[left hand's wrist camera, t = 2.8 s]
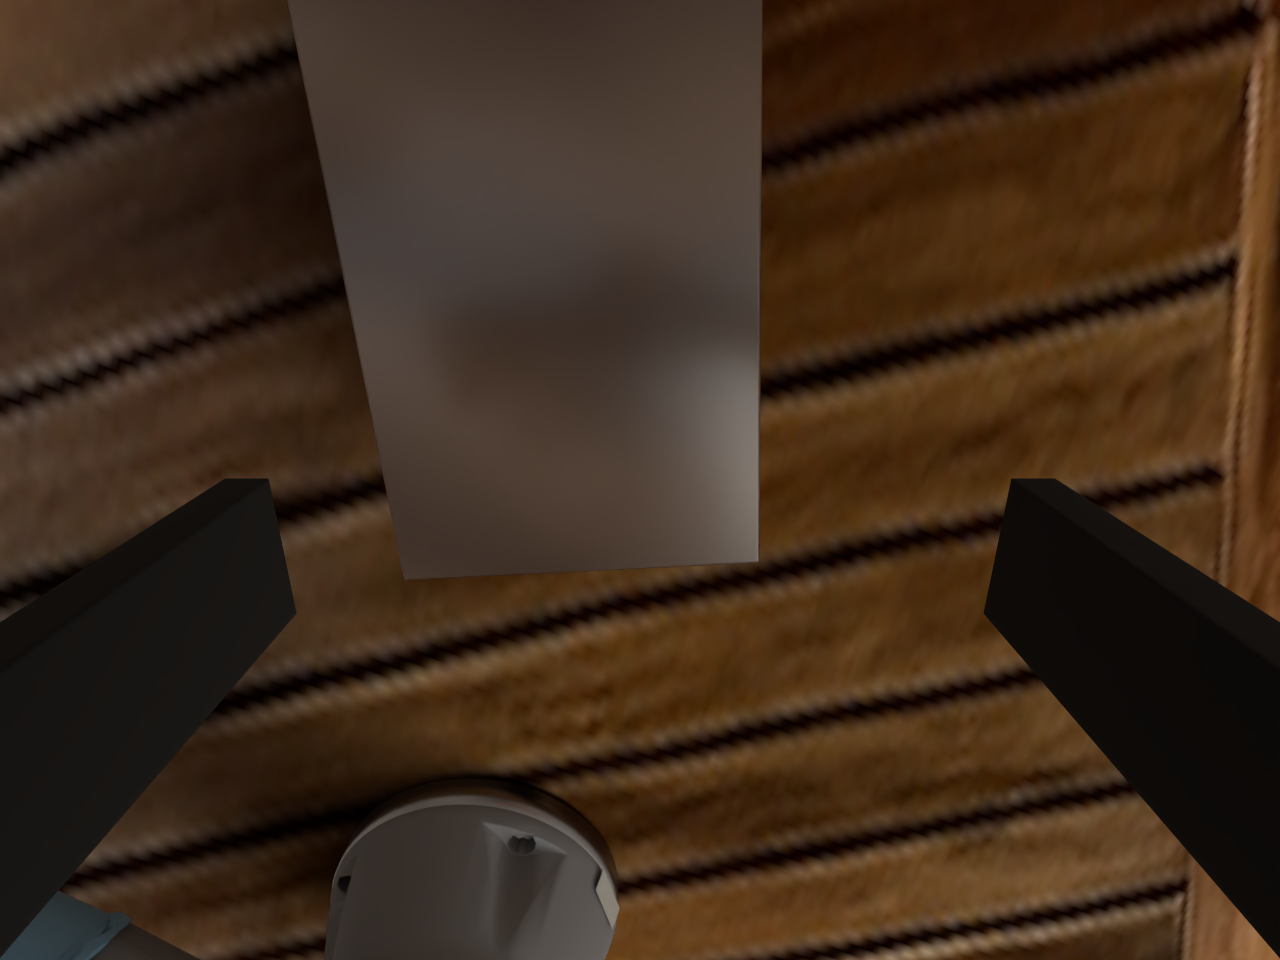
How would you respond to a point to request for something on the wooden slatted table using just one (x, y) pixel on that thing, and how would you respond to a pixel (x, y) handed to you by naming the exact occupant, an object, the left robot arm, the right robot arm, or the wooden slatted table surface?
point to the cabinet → (550, 272)
